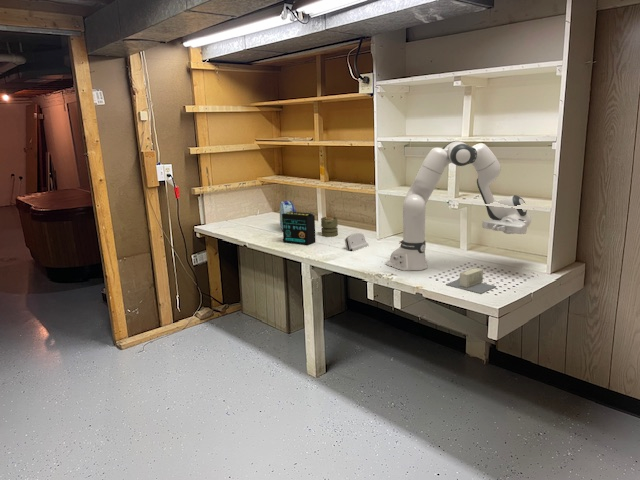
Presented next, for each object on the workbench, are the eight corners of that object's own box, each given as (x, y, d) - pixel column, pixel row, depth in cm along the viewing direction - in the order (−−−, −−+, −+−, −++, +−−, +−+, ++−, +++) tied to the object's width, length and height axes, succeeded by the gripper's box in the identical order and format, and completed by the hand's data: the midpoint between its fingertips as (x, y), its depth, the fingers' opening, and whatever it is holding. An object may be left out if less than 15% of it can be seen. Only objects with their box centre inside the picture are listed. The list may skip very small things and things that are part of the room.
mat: (445, 285, 222) (445, 284, 222) (461, 278, 230) (461, 277, 230) (481, 294, 209) (481, 293, 209) (496, 287, 217) (496, 286, 217)
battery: (315, 242, 313) (314, 212, 308) (307, 245, 305) (306, 214, 300) (291, 239, 323) (290, 210, 318) (283, 242, 315) (281, 212, 310)
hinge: (352, 251, 287) (348, 235, 287) (347, 252, 290) (342, 237, 290) (369, 245, 299) (364, 230, 299) (363, 247, 302) (359, 232, 302)
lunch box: (297, 232, 344) (296, 203, 339) (282, 233, 342) (281, 204, 338) (293, 225, 369) (291, 198, 364) (279, 226, 367) (277, 199, 363)
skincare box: (475, 267, 225) (459, 272, 218) (483, 269, 222) (467, 274, 214) (474, 280, 226) (458, 285, 219) (482, 282, 223) (466, 287, 216)
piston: (336, 219, 324) (320, 219, 325) (337, 236, 326) (320, 237, 328) (337, 216, 335) (321, 216, 336) (338, 233, 337) (322, 233, 339)
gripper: (490, 215, 243) (476, 219, 234) (530, 221, 228) (516, 225, 219) (489, 227, 244) (475, 231, 235) (529, 234, 229) (515, 238, 220)
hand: (495, 228), depth 227 cm, fingers closed
